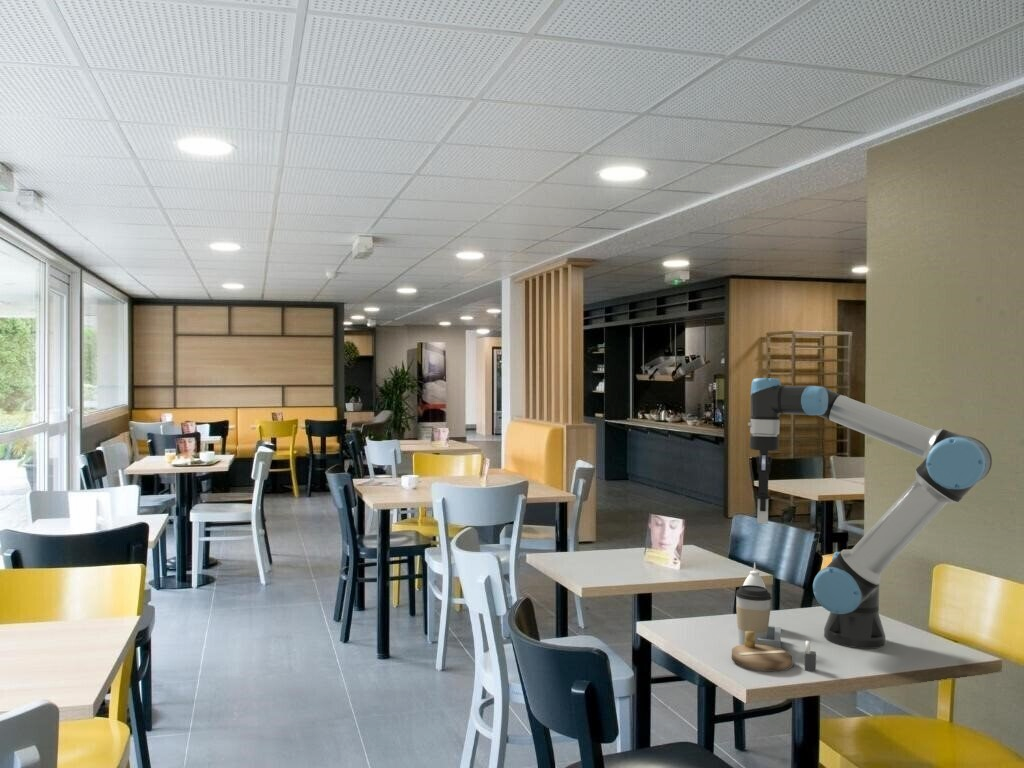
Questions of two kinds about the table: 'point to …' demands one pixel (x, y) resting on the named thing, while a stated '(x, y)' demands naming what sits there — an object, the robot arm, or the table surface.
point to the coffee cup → (752, 611)
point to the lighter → (810, 658)
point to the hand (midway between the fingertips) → (762, 522)
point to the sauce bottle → (754, 579)
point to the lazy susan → (760, 655)
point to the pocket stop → (771, 637)
